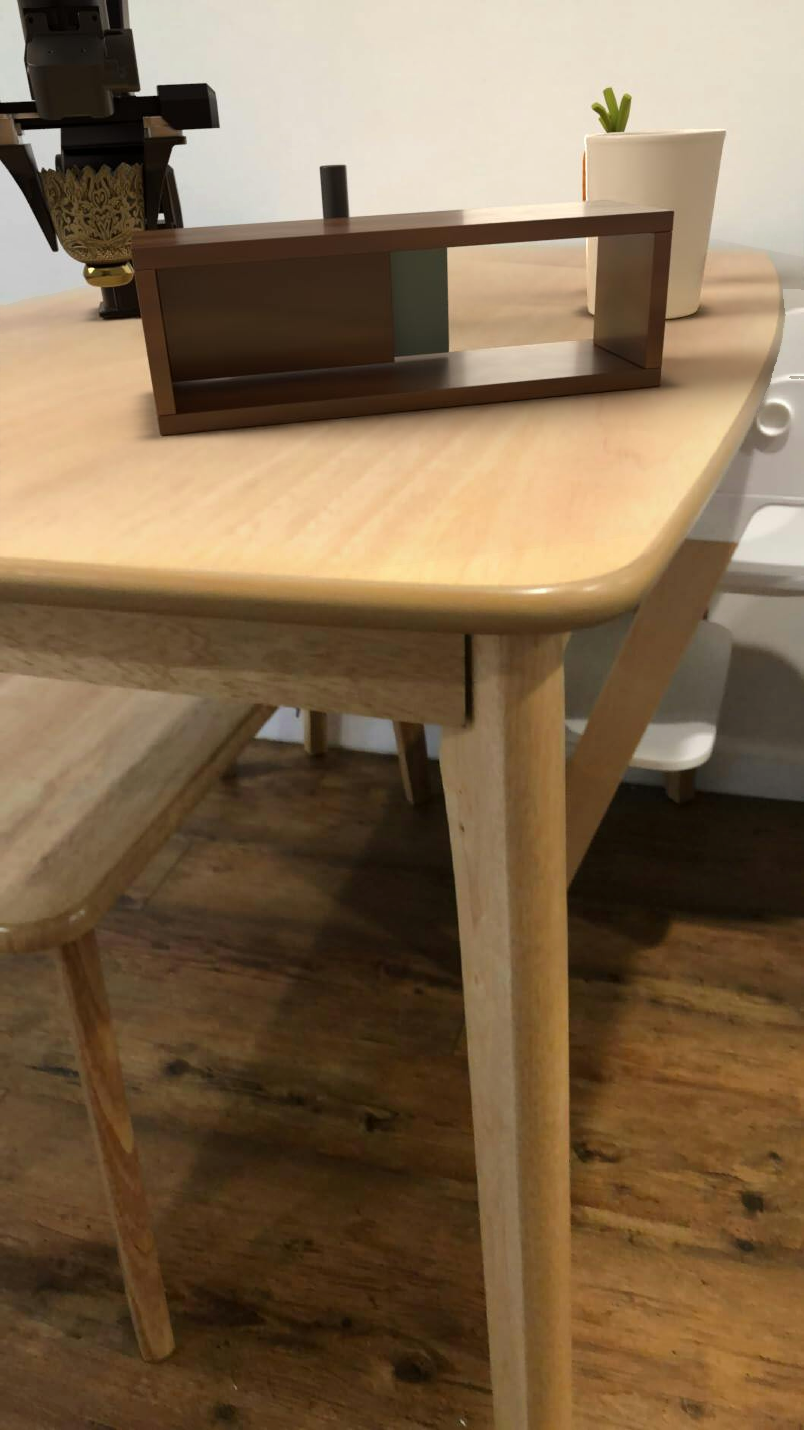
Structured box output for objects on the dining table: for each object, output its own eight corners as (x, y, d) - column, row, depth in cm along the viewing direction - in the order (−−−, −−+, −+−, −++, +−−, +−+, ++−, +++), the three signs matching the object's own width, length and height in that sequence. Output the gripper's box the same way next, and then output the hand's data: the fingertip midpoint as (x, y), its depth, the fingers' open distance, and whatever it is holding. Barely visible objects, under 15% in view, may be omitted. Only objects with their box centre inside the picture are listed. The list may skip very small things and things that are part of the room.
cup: (54, 283, 80) (32, 166, 76) (150, 274, 83) (133, 160, 79) (65, 295, 74) (41, 169, 70) (168, 285, 76) (150, 162, 72)
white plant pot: (556, 307, 83) (561, 135, 77) (665, 296, 85) (679, 128, 79) (615, 327, 75) (626, 136, 69) (734, 314, 77) (755, 128, 71)
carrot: (635, 292, 88) (649, 84, 81) (576, 292, 89) (583, 88, 82) (636, 283, 92) (649, 85, 85) (579, 284, 93) (587, 88, 86)
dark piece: (223, 354, 66) (201, 172, 61) (428, 336, 68) (423, 159, 63) (230, 372, 62) (206, 176, 56) (449, 352, 64) (445, 162, 59)
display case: (157, 395, 62) (130, 230, 58) (597, 354, 67) (605, 199, 63) (160, 435, 54) (130, 247, 50) (660, 386, 59) (674, 210, 55)
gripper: (-113, -18, 61) (-44, 270, 69) (208, -26, 64) (239, 250, 72) (-80, 1, 70) (-23, 252, 78) (199, -7, 74) (227, 235, 81)
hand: (103, 247), depth 77 cm, fingers closed on cup, 7 cm apart
